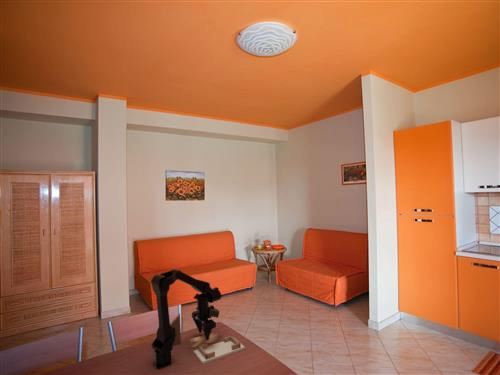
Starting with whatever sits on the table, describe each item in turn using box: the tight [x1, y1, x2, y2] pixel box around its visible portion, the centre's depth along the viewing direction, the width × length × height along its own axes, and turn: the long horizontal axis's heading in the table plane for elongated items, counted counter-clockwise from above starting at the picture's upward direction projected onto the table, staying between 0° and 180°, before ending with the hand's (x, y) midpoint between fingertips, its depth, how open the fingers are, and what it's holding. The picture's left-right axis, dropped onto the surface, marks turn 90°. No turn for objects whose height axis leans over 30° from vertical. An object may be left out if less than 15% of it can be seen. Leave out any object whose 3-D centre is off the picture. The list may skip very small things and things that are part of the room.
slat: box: [189, 332, 219, 348], centre depth 151 cm, size 14×4×3 cm, turn 115°
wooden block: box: [170, 313, 182, 345], centre depth 151 cm, size 4×11×18 cm, turn 96°
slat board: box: [193, 335, 246, 365], centre depth 142 cm, size 22×11×3 cm, turn 122°
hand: (203, 336), depth 150 cm, fingers open, 9 cm apart
